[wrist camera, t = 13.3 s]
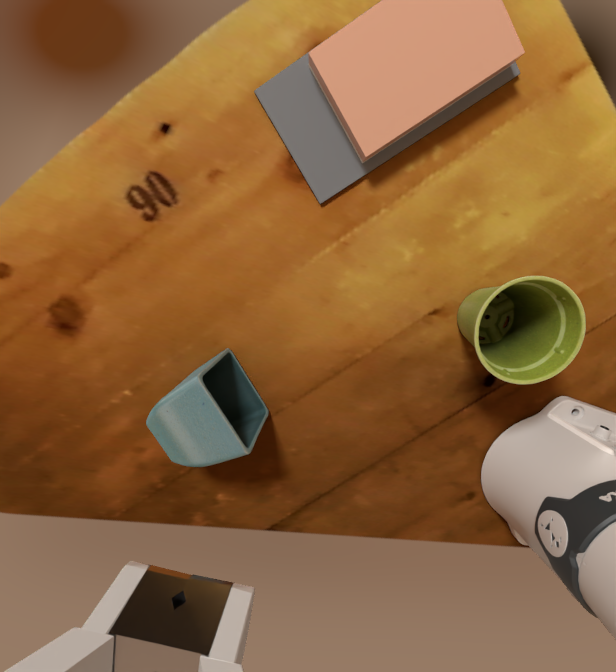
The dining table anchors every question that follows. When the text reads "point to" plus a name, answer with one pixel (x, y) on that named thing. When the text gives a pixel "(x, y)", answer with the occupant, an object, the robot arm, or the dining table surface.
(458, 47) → the tile
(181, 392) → the flower pot
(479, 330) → the plant pot
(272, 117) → the mat
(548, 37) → the dining table surface
